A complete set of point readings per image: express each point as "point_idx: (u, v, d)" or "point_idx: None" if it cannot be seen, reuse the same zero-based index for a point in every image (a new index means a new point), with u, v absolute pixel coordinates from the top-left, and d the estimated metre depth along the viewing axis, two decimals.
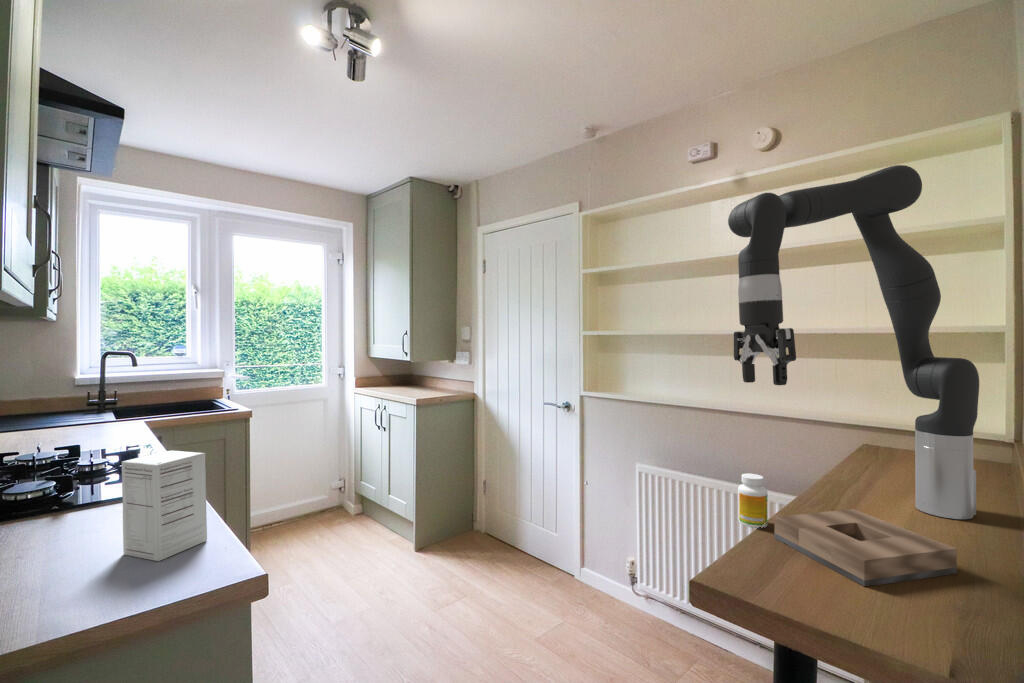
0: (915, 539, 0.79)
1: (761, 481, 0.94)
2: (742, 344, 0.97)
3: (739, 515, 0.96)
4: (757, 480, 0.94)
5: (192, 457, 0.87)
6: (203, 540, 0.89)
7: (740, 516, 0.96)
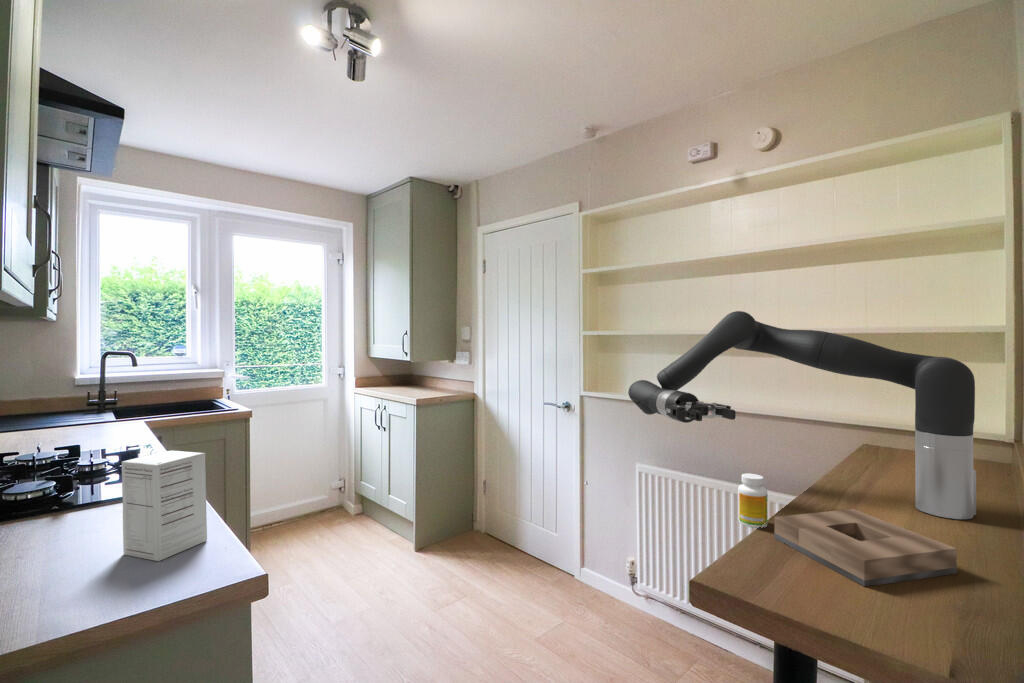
0: (915, 539, 0.79)
1: (761, 481, 0.94)
2: (718, 409, 1.15)
3: (739, 515, 0.96)
4: (757, 480, 0.94)
5: (192, 457, 0.87)
6: (203, 540, 0.89)
7: (740, 516, 0.96)
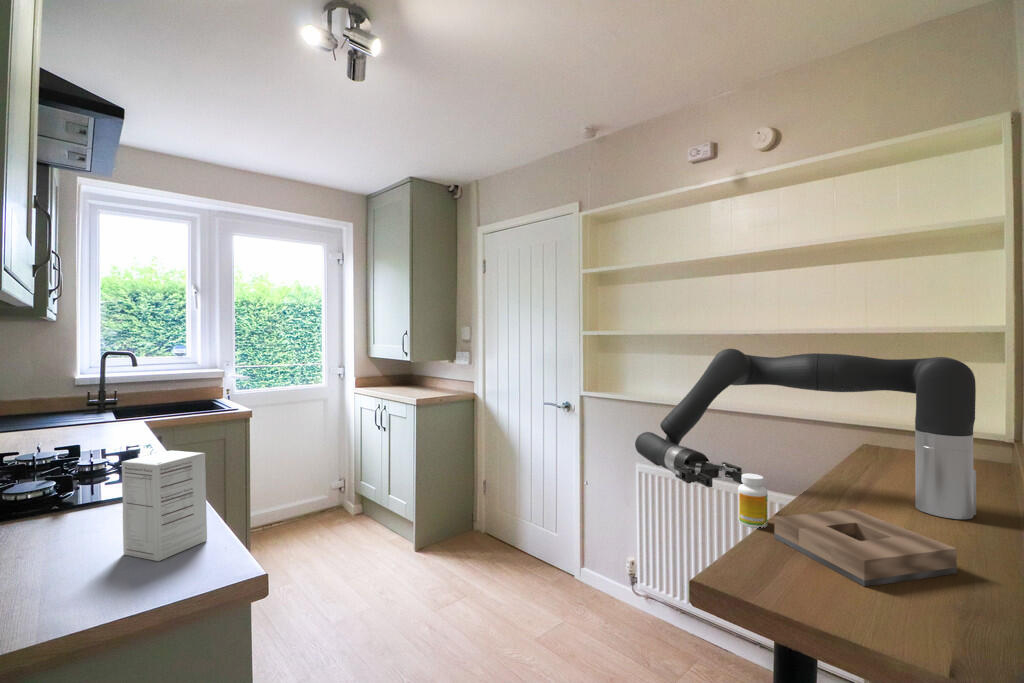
0: (915, 539, 0.79)
1: (761, 481, 0.94)
2: (728, 470, 1.12)
3: (739, 515, 0.96)
4: (757, 480, 0.94)
5: (192, 457, 0.87)
6: (203, 540, 0.89)
7: (740, 516, 0.96)
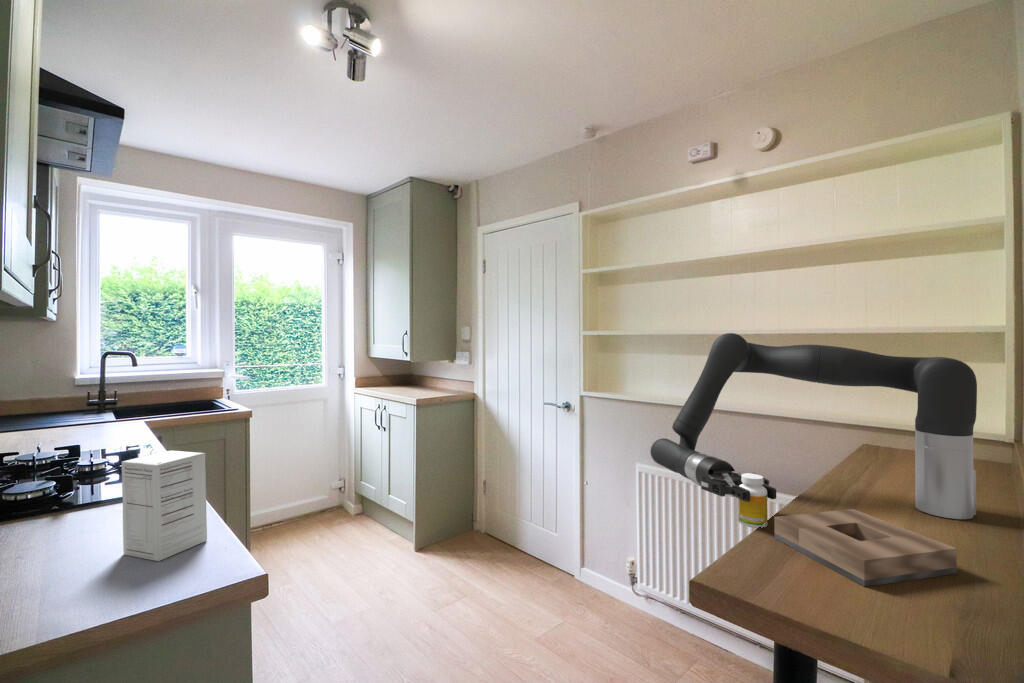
0: (915, 539, 0.79)
1: (761, 481, 0.94)
2: None
3: (739, 515, 0.96)
4: (757, 480, 0.94)
5: (192, 457, 0.87)
6: (203, 540, 0.89)
7: (740, 516, 0.96)
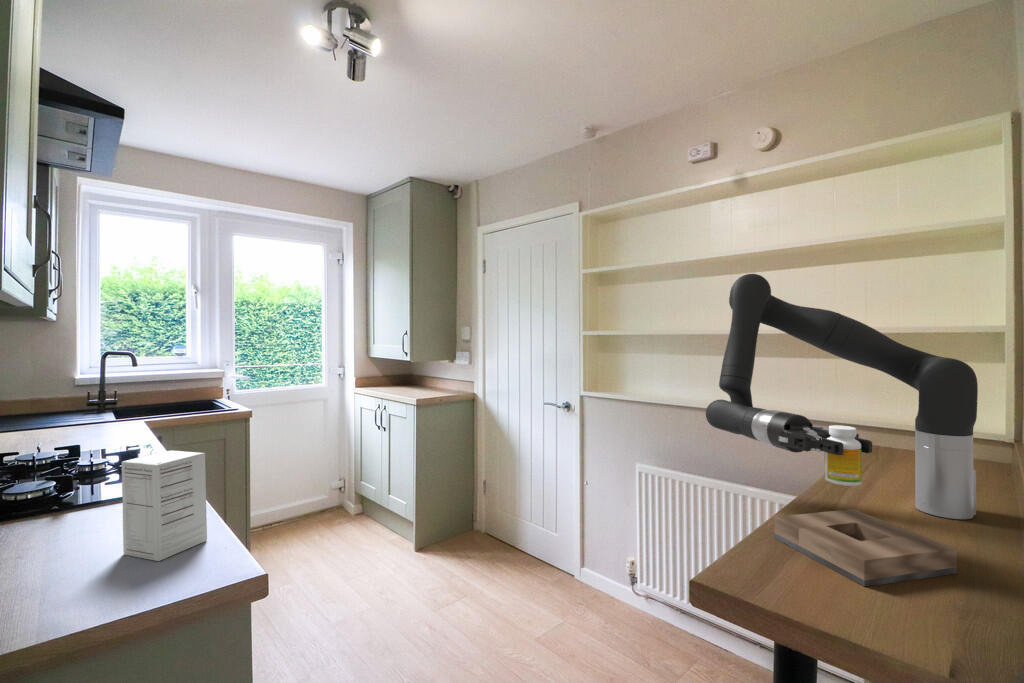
0: (915, 539, 0.79)
1: (854, 432, 0.82)
2: None
3: (827, 472, 0.84)
4: (850, 431, 0.82)
5: (192, 457, 0.87)
6: (203, 540, 0.89)
7: (828, 473, 0.84)
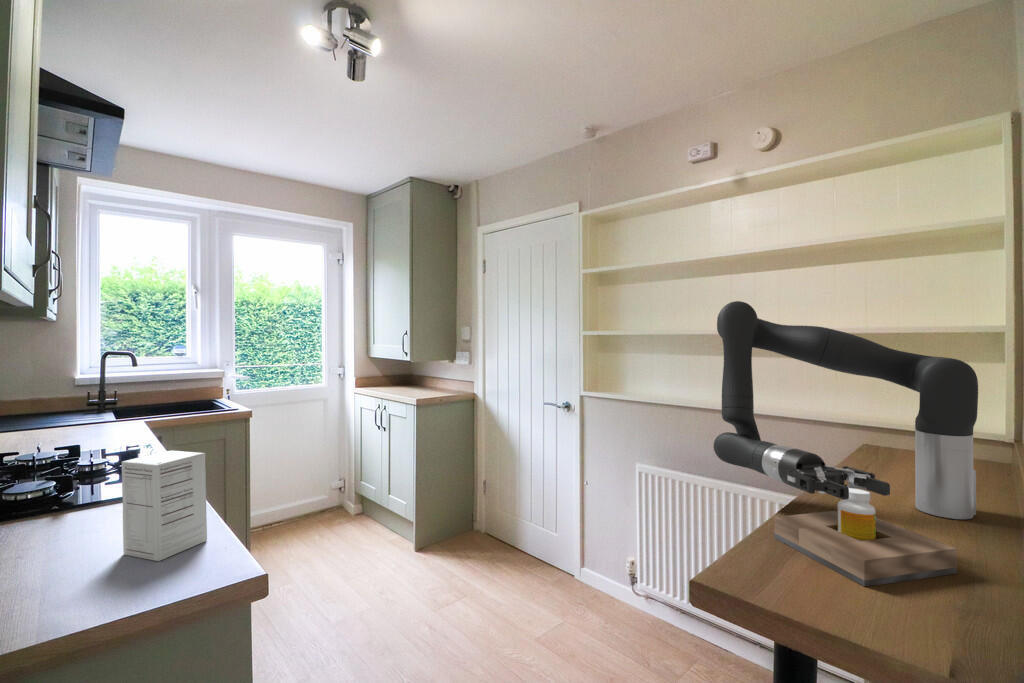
0: (915, 539, 0.79)
1: (868, 497, 0.81)
2: (854, 476, 0.89)
3: None
4: (864, 495, 0.81)
5: (192, 457, 0.87)
6: (203, 540, 0.89)
7: None
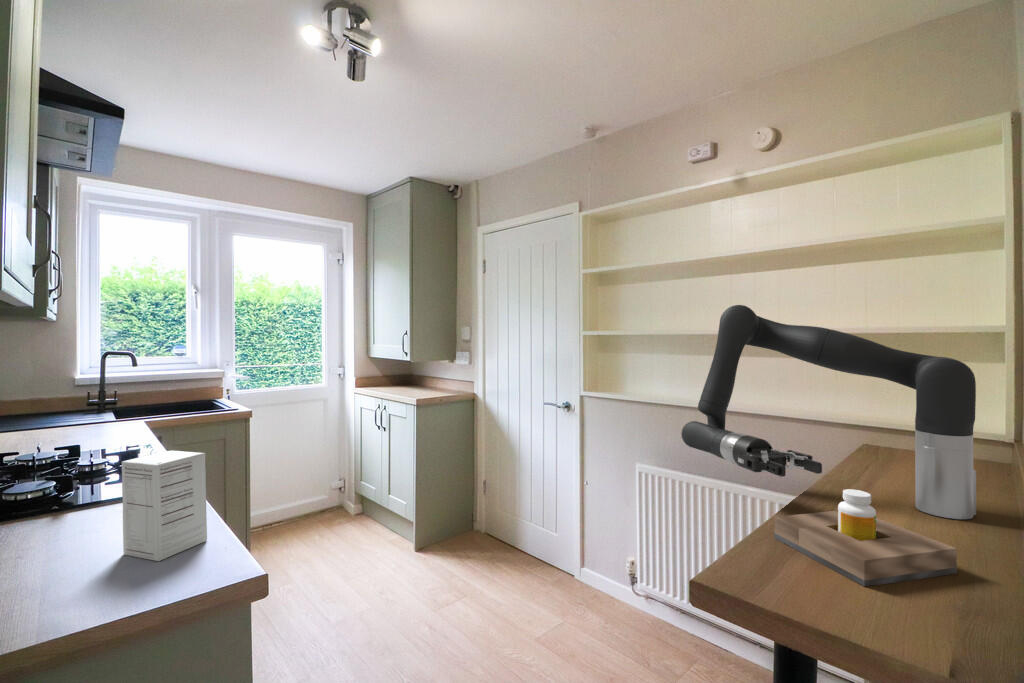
0: (915, 539, 0.79)
1: (869, 499, 0.80)
2: (796, 458, 1.02)
3: None
4: (864, 498, 0.80)
5: (192, 457, 0.87)
6: (203, 540, 0.89)
7: None
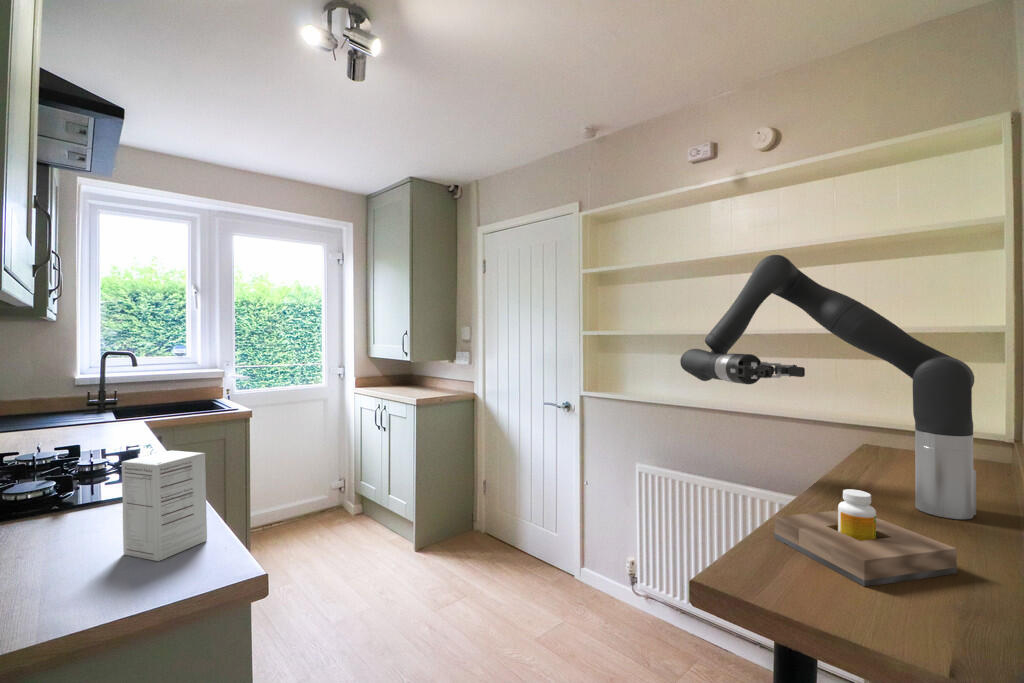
0: (915, 539, 0.79)
1: (869, 499, 0.80)
2: (782, 370, 1.14)
3: None
4: (864, 498, 0.80)
5: (192, 457, 0.87)
6: (203, 540, 0.89)
7: None
